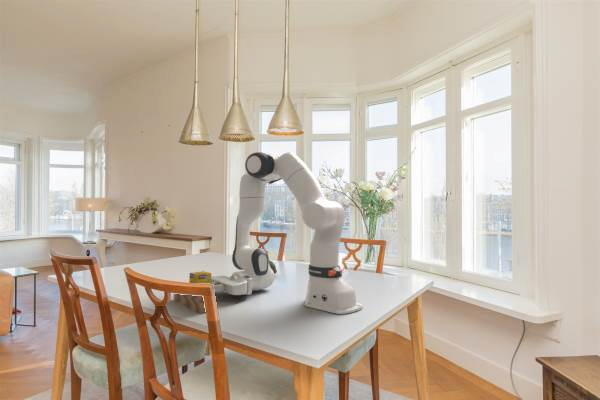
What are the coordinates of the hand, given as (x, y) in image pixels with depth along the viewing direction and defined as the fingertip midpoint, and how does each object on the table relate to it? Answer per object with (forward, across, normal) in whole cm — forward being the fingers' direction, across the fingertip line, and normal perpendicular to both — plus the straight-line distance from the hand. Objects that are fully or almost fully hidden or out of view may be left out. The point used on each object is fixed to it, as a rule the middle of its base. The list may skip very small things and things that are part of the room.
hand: (208, 287), depth 132 cm
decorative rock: (-42, -23, +5) cm, 48 cm away
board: (+8, +1, +5) cm, 10 cm away
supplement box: (+3, -1, +5) cm, 6 cm away
